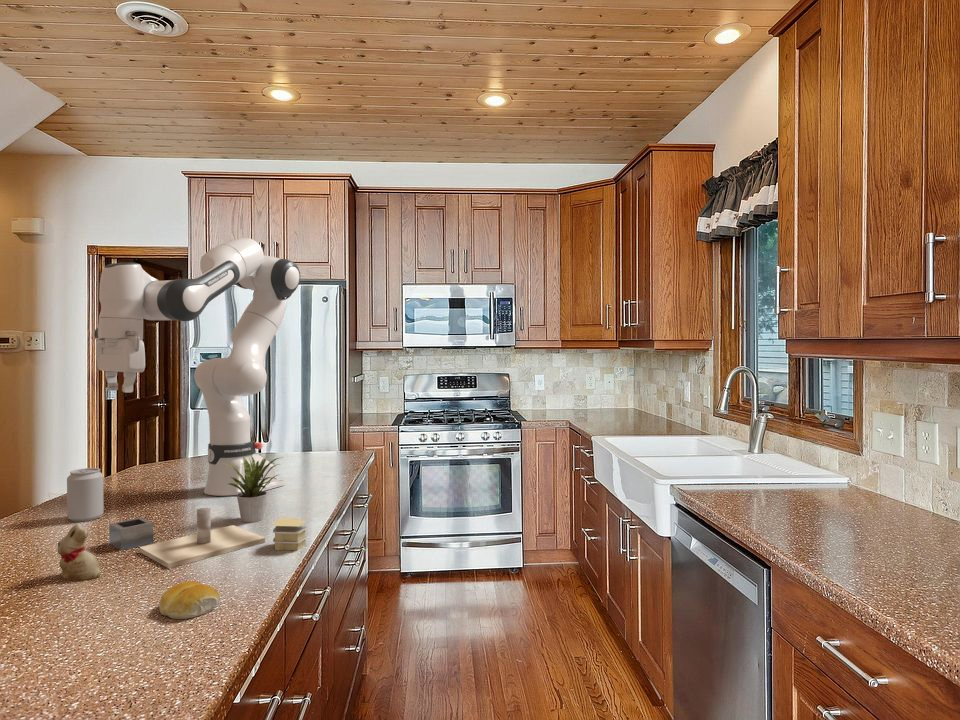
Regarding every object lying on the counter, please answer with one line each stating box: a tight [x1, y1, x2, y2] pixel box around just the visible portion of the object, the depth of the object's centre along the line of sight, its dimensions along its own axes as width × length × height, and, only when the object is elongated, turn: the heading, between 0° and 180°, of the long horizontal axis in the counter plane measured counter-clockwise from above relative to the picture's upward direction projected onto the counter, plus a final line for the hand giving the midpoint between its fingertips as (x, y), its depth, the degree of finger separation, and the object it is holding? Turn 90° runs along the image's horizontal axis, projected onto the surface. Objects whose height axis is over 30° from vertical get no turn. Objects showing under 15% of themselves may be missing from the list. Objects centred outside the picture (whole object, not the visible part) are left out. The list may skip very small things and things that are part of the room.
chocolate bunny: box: [57, 523, 102, 582], centre depth 109 cm, size 6×8×10 cm
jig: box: [139, 507, 266, 569], centre depth 125 cm, size 20×14×8 cm
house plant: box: [222, 453, 284, 523], centre depth 145 cm, size 14×14×16 cm
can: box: [66, 467, 105, 523], centre depth 145 cm, size 8×8×12 cm
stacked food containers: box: [272, 517, 308, 551], centre depth 126 cm, size 10×9×6 cm
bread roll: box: [158, 580, 221, 620], centre depth 96 cm, size 8×9×4 cm
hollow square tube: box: [108, 516, 155, 551], centre depth 127 cm, size 6×6×4 cm
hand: (120, 391), depth 137 cm, fingers open, 8 cm apart
